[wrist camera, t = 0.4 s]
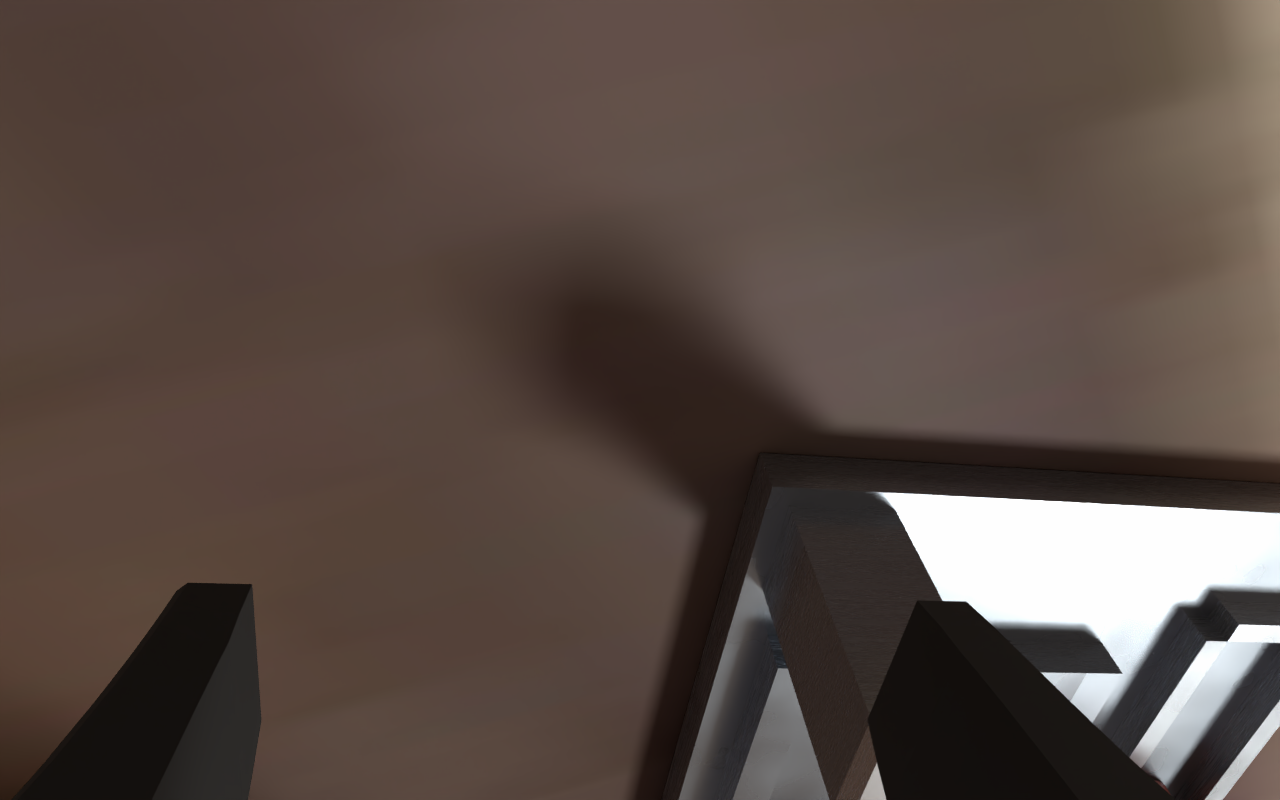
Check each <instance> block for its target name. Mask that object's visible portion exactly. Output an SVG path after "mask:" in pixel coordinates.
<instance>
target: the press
mask: <svg viewBox="0 0 1280 800" xmlns="http://www.w3.org/2000/svg"><path fill="white" fill-rule="evenodd" d="M917 600H925V601H966V602H967V603H969V604H970V605H971V606H972V607H973V608H974V609H975V610H976V611H977V612H978V613H980V614H981V615H982V616H983V617H984V618H985V619H986V620H987V621H988V622H989V623H990V624H991V625H992V626H993V627H995V628H996V629H997V630H998V631H999V632H1000V633H1001V634H1002V635H1003V636H1004V637H1005V638H1006V639H1007V640H1008V641H1009V642H1010V643H1011V644H1012V645H1013V646H1014V647H1015V648H1016V649H1017V650H1018V651H1019V652H1020V653H1021V654H1022V655H1023V656H1024V657H1025V658H1026V659H1027V660H1028V661H1030V662H1031V663H1032V664H1033V665H1034V666H1035V667H1036V668H1037V669H1038V670H1039V671H1040V672H1041V673H1042V674H1043V675H1044V676H1045V677H1046V678H1047V679H1048V680H1049V681H1050V682H1051V683H1052V684H1053V685H1054V686H1055V687H1056V688H1057V689H1058V690H1059V691H1060V692H1061V693H1062V694H1063V695H1064V696H1065V697H1066V698H1067V699H1068V700H1069V701H1070V702H1071V703H1073V704H1074V705H1075V706H1076V707H1077V708H1078V709H1079V710H1080V711H1081V712H1082V713H1083V714H1084V715H1085V716H1086V717H1087V718H1088V719H1089V720H1090V721H1091V722H1092V723H1093V724H1094V725H1095V726H1096V727H1097V728H1099V729H1100V730H1101V731H1102V732H1103V733H1104V734H1105V735H1106V736H1107V737H1108V738H1109V739H1110V740H1111V741H1112V742H1113V743H1114V744H1115V745H1116V746H1118V747H1119V748H1120V749H1121V750H1122V751H1123V752H1124V753H1125V754H1126V755H1127V756H1128V757H1129V758H1130V759H1132V760H1133V761H1134V762H1135V763H1136V764H1137V765H1138V766H1139V767H1140V768H1141V769H1142V770H1144V771H1145V772H1146V773H1147V774H1148V775H1149V776H1150V777H1151V778H1152V779H1153V780H1155V781H1159V782H1161V783H1163V784H1164V785H1165V786H1166V788H1167V789H1168V791H1169V793H1170V794H1171V796H1173V797H1174V798H1175V799H1176V800H1223V798H1224V797H1225V796H1226V794H1227V793H1228V792H1229V791H1230V789H1231V788H1232V787H1233V785H1234V784H1235V783H1236V781H1237V780H1238V779H1239V778H1240V776H1241V775H1242V774H1243V772H1244V771H1245V770H1246V768H1247V767H1248V766H1249V765H1250V763H1251V762H1252V761H1253V759H1254V758H1255V757H1256V755H1257V754H1258V753H1259V752H1260V750H1261V749H1262V748H1263V746H1264V745H1265V744H1266V743H1267V741H1268V740H1269V739H1270V737H1271V736H1272V735H1273V733H1274V732H1275V731H1276V730H1277V728H1278V727H1279V726H1280V484H1275V483H1258V482H1241V481H1224V480H1208V479H1191V478H1174V477H1157V476H1140V475H1124V474H1107V473H1090V472H1073V471H1056V470H1039V469H1023V468H1006V467H989V466H972V465H955V464H938V463H922V462H905V461H888V460H871V459H854V458H838V457H821V456H804V455H787V454H770V453H760V454H759V458H758V461H757V465H756V468H755V472H754V475H753V479H752V482H751V486H750V489H749V493H748V496H747V500H746V503H745V507H744V510H743V514H742V517H741V521H740V524H739V528H738V531H737V535H736V538H735V542H734V545H733V549H732V552H731V556H730V559H729V563H728V566H727V570H726V573H725V577H724V580H723V584H722V587H721V591H720V594H719V598H718V602H717V605H716V609H715V612H714V616H713V619H712V623H711V626H710V630H709V633H708V637H707V640H706V644H705V647H704V651H703V654H702V658H701V661H700V665H699V668H698V672H697V675H696V679H695V682H694V686H693V689H692V693H691V696H690V700H689V703H688V707H687V710H686V714H685V717H684V721H683V724H682V728H681V731H680V735H679V738H678V742H677V745H676V749H675V753H674V756H673V760H672V763H671V767H670V770H669V774H668V777H667V781H666V784H665V788H664V791H663V795H662V798H661V800H886V796H885V792H884V789H883V785H882V781H881V777H880V773H879V769H878V765H877V761H876V756H875V752H874V747H873V743H872V738H871V734H870V730H869V725H868V721H867V719H868V717H869V714H870V712H871V710H872V707H873V705H874V702H875V700H876V698H877V695H878V693H879V690H880V688H881V686H882V683H883V681H884V679H885V676H886V674H887V671H888V669H889V667H890V664H891V662H892V659H893V657H894V655H895V652H896V650H897V647H898V645H899V643H900V640H901V638H902V635H903V633H904V631H905V628H906V626H907V623H908V621H909V619H910V616H911V614H912V611H913V609H914V607H915V604H916V602H917Z"/></svg>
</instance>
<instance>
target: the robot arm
mask: <svg viewBox="0 0 1280 800" xmlns="http://www.w3.org/2000/svg"><path fill="white" fill-rule="evenodd" d="M867 721H868V725H869V730H870V734H871V738H872V743H873V747H874V752H875V756H876V761H877V765H878V769H879V773H880V777H881V781H882V785H883V789H884V792H885V796H886V800H1176V799H1175V798H1174V797H1173V796H1171V795H1170V794H1169V793H1168V792H1167V791H1166V790H1164V789H1163V788H1162V787H1161V786H1160V785H1159V784H1158V783H1157V782H1156V781H1155V780H1153V779H1152V778H1151V777H1150V776H1149V775H1148V774H1147V773H1146V772H1145V771H1144V770H1142V769H1141V768H1140V767H1139V766H1138V765H1137V764H1136V763H1135V762H1134V761H1133V760H1132V759H1130V758H1129V757H1128V756H1127V755H1126V754H1125V753H1124V752H1123V751H1122V750H1121V749H1120V748H1119V747H1118V746H1116V745H1115V744H1114V743H1113V742H1112V741H1111V740H1110V739H1109V738H1108V737H1107V736H1106V735H1105V734H1104V733H1103V732H1102V731H1101V730H1100V729H1099V728H1097V727H1096V726H1095V725H1094V724H1093V723H1092V722H1091V721H1090V720H1089V719H1088V718H1087V717H1086V716H1085V715H1084V714H1083V713H1082V712H1081V711H1080V710H1079V709H1078V708H1077V707H1076V706H1075V705H1074V704H1073V703H1071V702H1070V701H1069V700H1068V699H1067V698H1066V697H1065V696H1064V695H1063V694H1062V693H1061V692H1060V691H1059V690H1058V689H1057V688H1056V687H1055V686H1054V685H1053V684H1052V683H1051V682H1050V681H1049V680H1048V679H1047V678H1046V677H1045V676H1044V675H1043V674H1042V673H1041V672H1040V671H1039V670H1038V669H1037V668H1036V667H1035V666H1034V665H1033V664H1032V663H1031V662H1030V661H1028V660H1027V659H1026V658H1025V657H1024V656H1023V655H1022V654H1021V653H1020V652H1019V651H1018V650H1017V649H1016V648H1015V647H1014V646H1013V645H1012V644H1011V643H1010V642H1009V641H1008V640H1007V639H1006V638H1005V637H1004V636H1003V635H1002V634H1001V633H1000V632H999V631H998V630H997V629H996V628H995V627H993V626H992V625H991V624H990V623H989V622H988V621H987V620H986V619H985V618H984V617H983V616H982V615H981V614H980V613H978V612H977V611H976V610H975V609H974V608H973V607H972V606H971V605H970V604H969V603H967V602H966V601H925V600H917V602H916V604H915V607H914V609H913V611H912V614H911V616H910V619H909V621H908V623H907V626H906V628H905V631H904V633H903V635H902V638H901V640H900V643H899V645H898V647H897V650H896V652H895V655H894V657H893V659H892V662H891V664H890V667H889V669H888V671H887V674H886V676H885V679H884V681H883V683H882V686H881V688H880V690H879V693H878V695H877V698H876V700H875V702H874V705H873V707H872V710H871V712H870V714H869V717H868V719H867ZM260 725H261V709H260V694H259V679H258V664H257V649H256V635H255V620H254V605H253V590H252V584H216V583H187V584H185V585H184V586H183V587H181V588H180V589H179V590H177V591H176V593H175V594H174V595H173V597H172V598H171V600H170V601H169V603H168V604H167V606H166V607H165V609H164V610H163V612H162V613H161V614H160V616H159V617H158V619H157V620H156V621H155V623H154V624H153V626H152V627H151V628H150V630H149V631H148V633H147V634H146V635H145V637H144V638H143V640H142V641H141V642H140V644H139V645H138V646H137V648H136V649H135V650H134V652H133V653H132V654H131V656H130V657H129V658H128V660H127V661H126V662H125V664H124V665H123V666H122V668H121V669H120V670H119V671H118V673H117V674H116V675H115V677H114V678H113V679H112V680H111V682H110V683H109V684H108V686H107V687H106V688H105V689H104V691H103V692H102V693H101V695H100V696H99V697H98V698H97V700H96V701H95V702H94V703H93V705H92V706H91V707H90V708H89V709H88V711H87V712H86V713H85V714H84V715H83V717H82V718H81V719H80V720H79V721H78V723H77V724H76V725H75V726H74V728H73V729H72V730H71V731H70V732H69V734H68V735H67V736H66V737H65V738H64V740H63V741H62V742H61V743H60V744H59V746H58V747H57V748H56V749H55V751H54V752H53V753H52V754H51V755H50V757H49V758H48V759H47V760H46V761H45V763H44V764H43V765H42V766H41V767H40V768H39V770H38V771H37V772H36V773H35V774H34V775H33V776H32V778H31V779H30V780H29V781H28V782H27V783H26V784H25V785H24V787H23V788H22V789H21V790H20V791H19V792H18V793H17V794H16V795H15V796H14V798H13V799H12V800H248V795H249V790H250V784H251V779H252V773H253V767H254V761H255V755H256V749H257V743H258V737H259V731H260Z"/></svg>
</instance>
